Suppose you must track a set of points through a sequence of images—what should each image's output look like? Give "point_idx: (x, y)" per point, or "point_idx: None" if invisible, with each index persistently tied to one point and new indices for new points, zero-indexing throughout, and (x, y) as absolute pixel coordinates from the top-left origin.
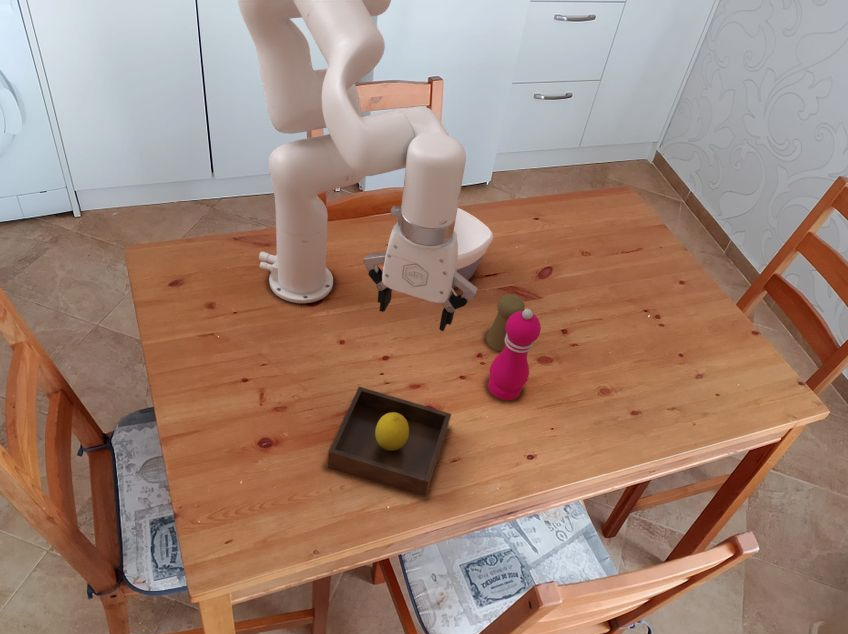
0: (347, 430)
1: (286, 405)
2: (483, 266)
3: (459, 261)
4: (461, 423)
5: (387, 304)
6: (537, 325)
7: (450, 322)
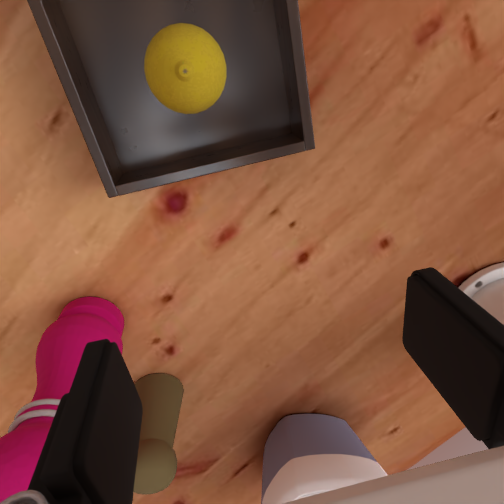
0: (282, 45)
1: (420, 47)
2: (258, 474)
3: (286, 485)
4: (105, 210)
5: (413, 318)
6: None
7: (58, 409)
